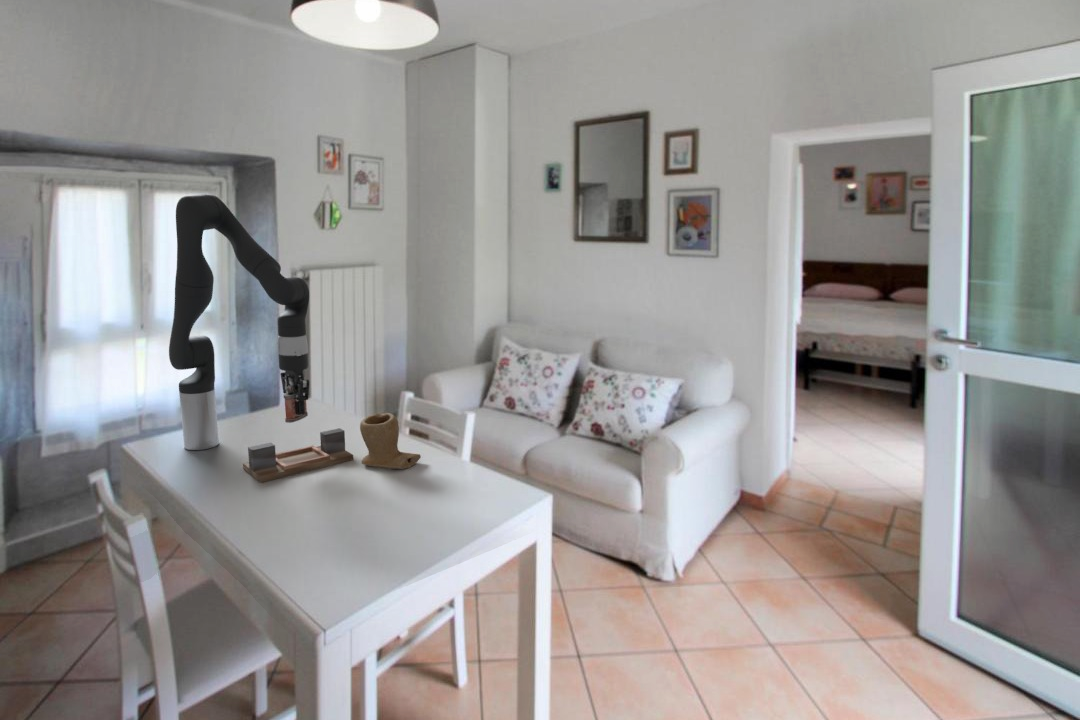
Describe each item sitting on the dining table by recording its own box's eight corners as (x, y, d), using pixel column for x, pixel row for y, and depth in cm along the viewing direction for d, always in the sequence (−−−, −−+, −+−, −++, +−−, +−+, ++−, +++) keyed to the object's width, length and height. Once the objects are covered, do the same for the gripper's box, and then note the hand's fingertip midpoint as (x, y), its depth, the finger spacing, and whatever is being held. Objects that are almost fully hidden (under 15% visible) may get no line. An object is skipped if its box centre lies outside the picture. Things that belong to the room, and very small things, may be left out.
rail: (243, 468, 170) (241, 442, 169) (333, 447, 188) (332, 424, 187) (260, 482, 161) (259, 455, 160) (353, 459, 179) (352, 434, 177)
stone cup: (352, 470, 171) (350, 418, 168) (375, 455, 183) (373, 406, 180) (401, 477, 167) (400, 424, 164) (421, 462, 178) (421, 412, 175)
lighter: (293, 423, 168) (290, 387, 166) (282, 422, 168) (279, 386, 166) (310, 414, 175) (308, 380, 173) (300, 414, 176) (297, 379, 174)
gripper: (269, 349, 171) (272, 408, 174) (290, 357, 160) (293, 420, 164) (296, 346, 176) (299, 404, 179) (318, 354, 166) (320, 415, 169)
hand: (296, 411), depth 171 cm, fingers closed on lighter, 4 cm apart
